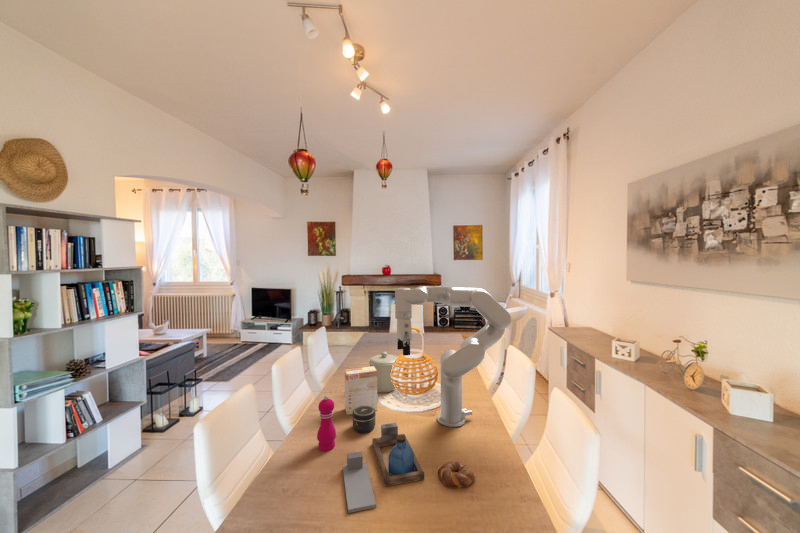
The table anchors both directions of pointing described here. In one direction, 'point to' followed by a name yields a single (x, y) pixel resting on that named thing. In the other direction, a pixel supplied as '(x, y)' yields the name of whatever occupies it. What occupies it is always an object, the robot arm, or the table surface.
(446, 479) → the pretzel
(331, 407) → the pepper mill
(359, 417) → the jar
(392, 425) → the rectangular wooden frame
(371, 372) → the coffeecake box
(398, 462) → the perfume bottle
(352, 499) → the grey l-shaped piece
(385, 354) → the canister
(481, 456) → the table surface
